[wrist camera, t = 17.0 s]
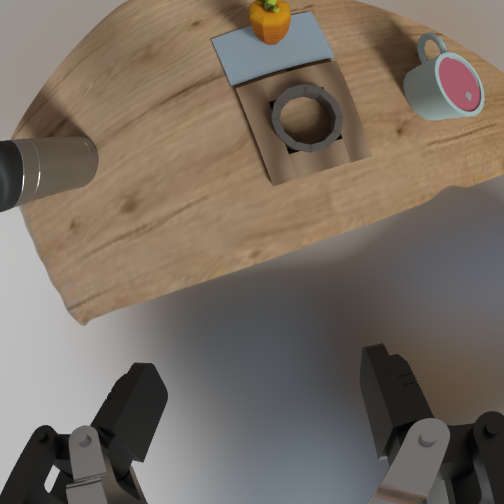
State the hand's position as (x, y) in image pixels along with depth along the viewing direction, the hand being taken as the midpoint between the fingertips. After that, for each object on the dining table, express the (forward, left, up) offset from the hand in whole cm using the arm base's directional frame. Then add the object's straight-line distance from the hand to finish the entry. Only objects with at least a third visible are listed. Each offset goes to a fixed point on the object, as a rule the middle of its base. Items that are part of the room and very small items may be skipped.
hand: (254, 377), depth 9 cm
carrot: (+9, +24, -32) cm, 41 cm away
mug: (+31, +13, -32) cm, 47 cm away
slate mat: (+9, +23, -32) cm, 41 cm away
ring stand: (+9, +10, -32) cm, 35 cm away
